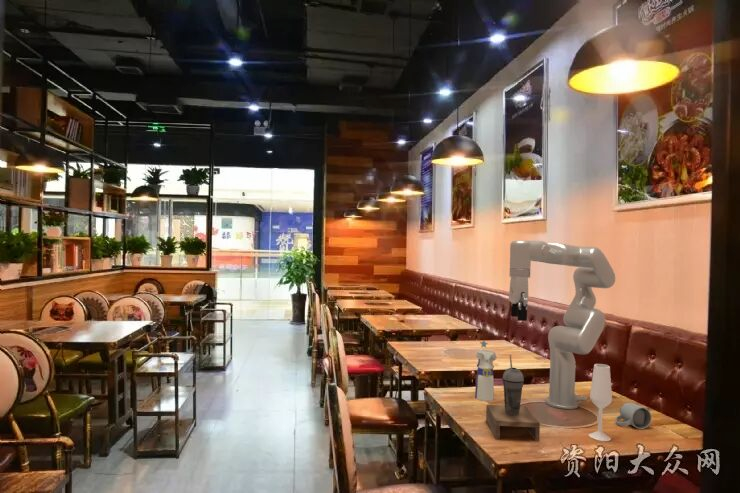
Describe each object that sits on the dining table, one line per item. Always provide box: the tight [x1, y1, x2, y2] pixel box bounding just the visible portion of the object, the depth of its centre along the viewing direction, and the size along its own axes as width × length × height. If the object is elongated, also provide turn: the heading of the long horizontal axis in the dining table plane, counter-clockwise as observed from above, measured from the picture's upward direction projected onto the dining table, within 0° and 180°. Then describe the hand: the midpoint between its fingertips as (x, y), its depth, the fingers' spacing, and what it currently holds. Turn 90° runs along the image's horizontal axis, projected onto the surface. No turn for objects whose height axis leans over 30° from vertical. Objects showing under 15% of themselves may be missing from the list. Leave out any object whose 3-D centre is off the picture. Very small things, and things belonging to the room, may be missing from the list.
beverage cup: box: [502, 354, 525, 416], centre depth 164 cm, size 7×7×20 cm
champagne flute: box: [588, 363, 613, 442], centre depth 160 cm, size 7×7×24 cm
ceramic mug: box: [614, 402, 652, 430], centre depth 172 cm, size 11×8×8 cm
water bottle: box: [474, 339, 497, 402], centre depth 199 cm, size 8×9×25 cm
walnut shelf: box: [485, 404, 541, 442], centre depth 164 cm, size 14×16×6 cm
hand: (518, 318), depth 180 cm, fingers open, 9 cm apart
